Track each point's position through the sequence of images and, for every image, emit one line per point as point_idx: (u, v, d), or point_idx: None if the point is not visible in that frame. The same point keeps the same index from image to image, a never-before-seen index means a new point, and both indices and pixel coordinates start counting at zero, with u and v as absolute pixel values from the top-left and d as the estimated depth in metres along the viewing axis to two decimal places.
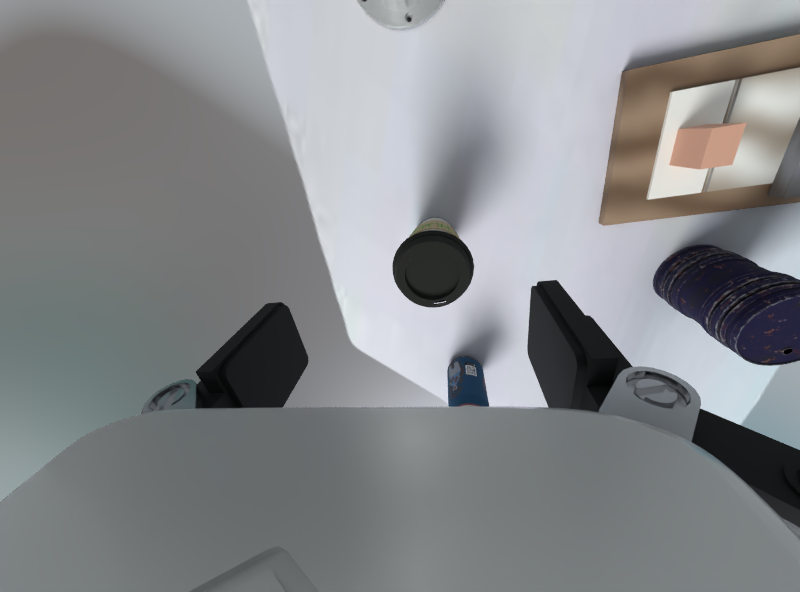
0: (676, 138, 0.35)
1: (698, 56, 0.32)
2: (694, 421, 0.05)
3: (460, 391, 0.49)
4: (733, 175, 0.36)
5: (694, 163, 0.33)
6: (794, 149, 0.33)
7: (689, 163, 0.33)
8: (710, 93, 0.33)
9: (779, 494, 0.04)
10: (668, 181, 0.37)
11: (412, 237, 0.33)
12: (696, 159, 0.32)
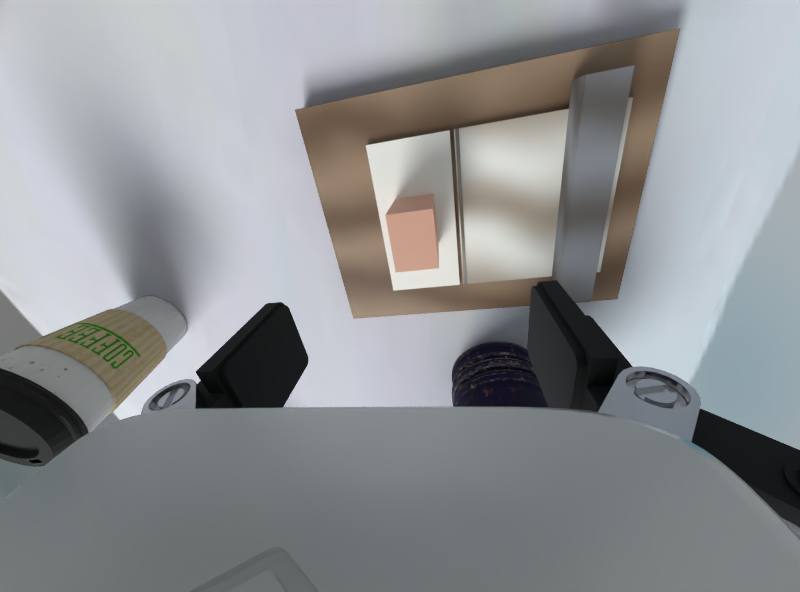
0: None
1: (386, 92, 0.20)
2: (694, 421, 0.05)
3: None
4: (494, 264, 0.24)
5: None
6: (560, 235, 0.22)
7: None
8: (420, 149, 0.21)
9: (779, 494, 0.04)
10: None
11: None
12: None
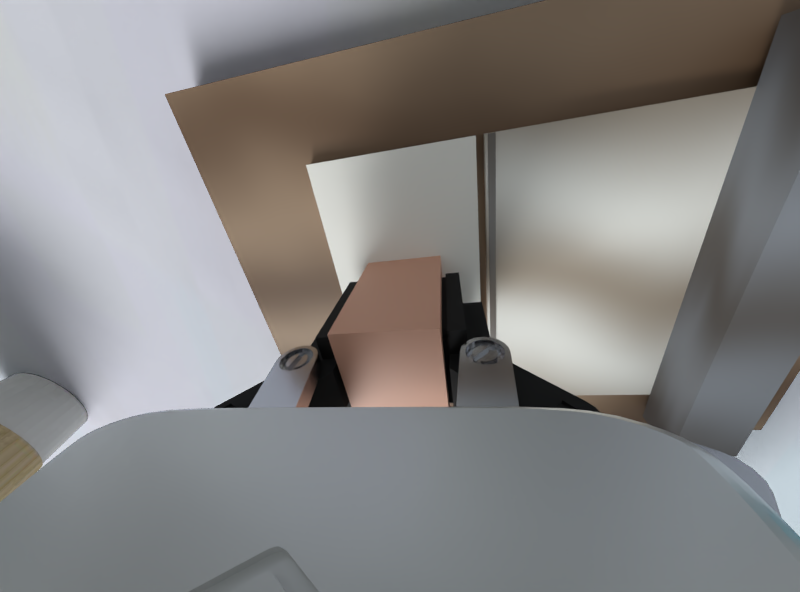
0: None
1: (342, 55, 0.09)
2: (511, 365, 0.07)
3: None
4: (547, 372, 0.14)
5: None
6: (689, 341, 0.11)
7: None
8: (415, 174, 0.10)
9: None
10: None
11: None
12: None
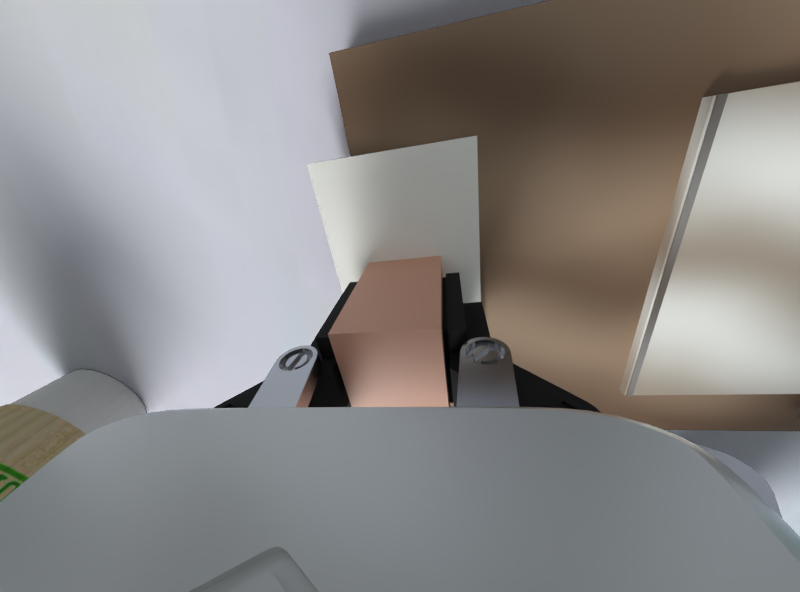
0: None
1: (557, 3, 0.08)
2: (511, 365, 0.07)
3: None
4: (701, 369, 0.13)
5: None
6: None
7: None
8: (416, 174, 0.10)
9: None
10: None
11: None
12: None
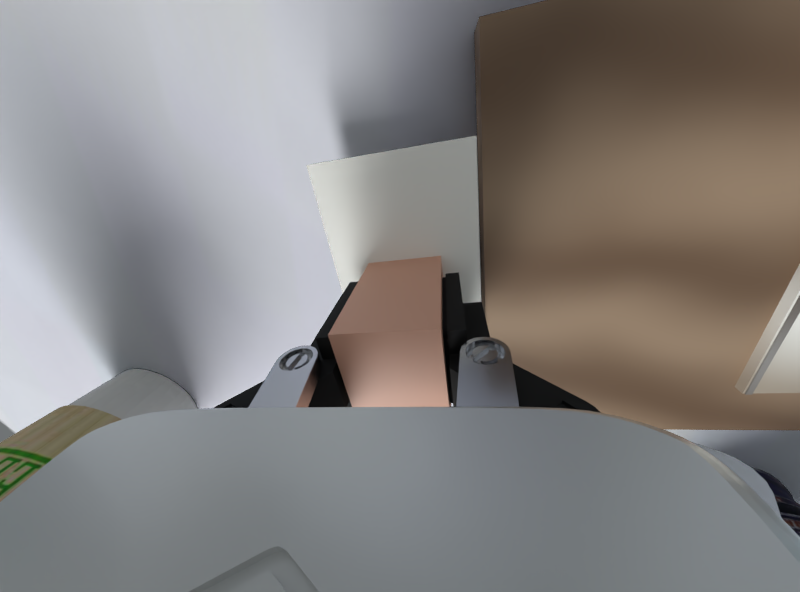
0: None
1: None
2: (511, 365, 0.07)
3: None
4: None
5: None
6: None
7: None
8: (416, 174, 0.10)
9: None
10: None
11: None
12: None
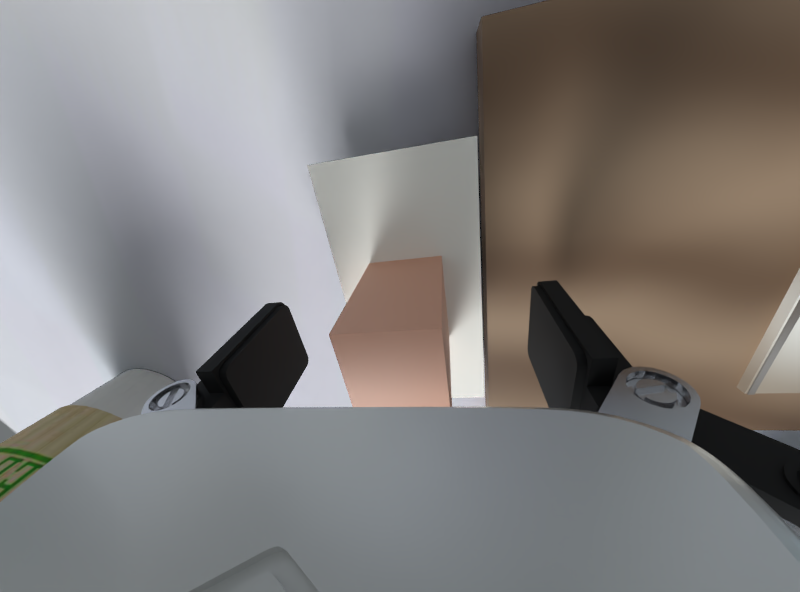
0: None
1: None
2: (694, 421, 0.05)
3: None
4: None
5: None
6: None
7: None
8: (416, 174, 0.10)
9: (779, 494, 0.04)
10: None
11: None
12: None
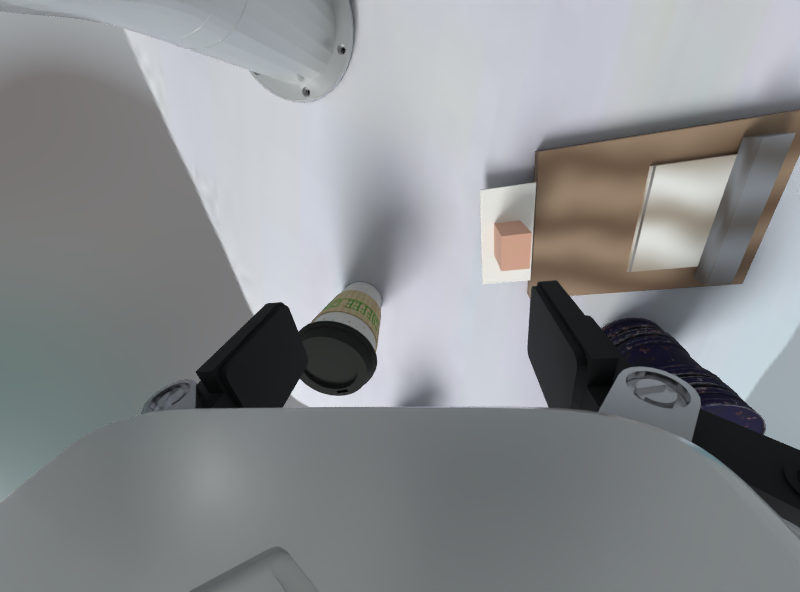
0: (494, 231, 0.35)
1: (609, 142, 0.30)
2: (694, 421, 0.05)
3: None
4: (656, 257, 0.34)
5: (499, 263, 0.33)
6: (715, 237, 0.31)
7: (498, 261, 0.33)
8: (515, 193, 0.33)
9: (779, 494, 0.04)
10: (496, 268, 0.37)
11: (307, 327, 0.31)
12: (499, 260, 0.32)
